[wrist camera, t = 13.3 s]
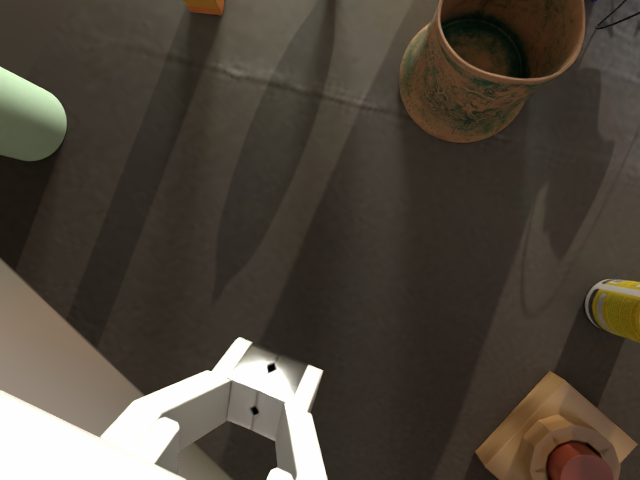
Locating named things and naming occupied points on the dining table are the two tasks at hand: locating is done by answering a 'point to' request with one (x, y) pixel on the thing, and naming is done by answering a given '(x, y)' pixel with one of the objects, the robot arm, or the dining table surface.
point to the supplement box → (205, 6)
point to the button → (577, 463)
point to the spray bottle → (28, 119)
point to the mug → (486, 62)
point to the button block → (551, 433)
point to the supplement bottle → (615, 307)
